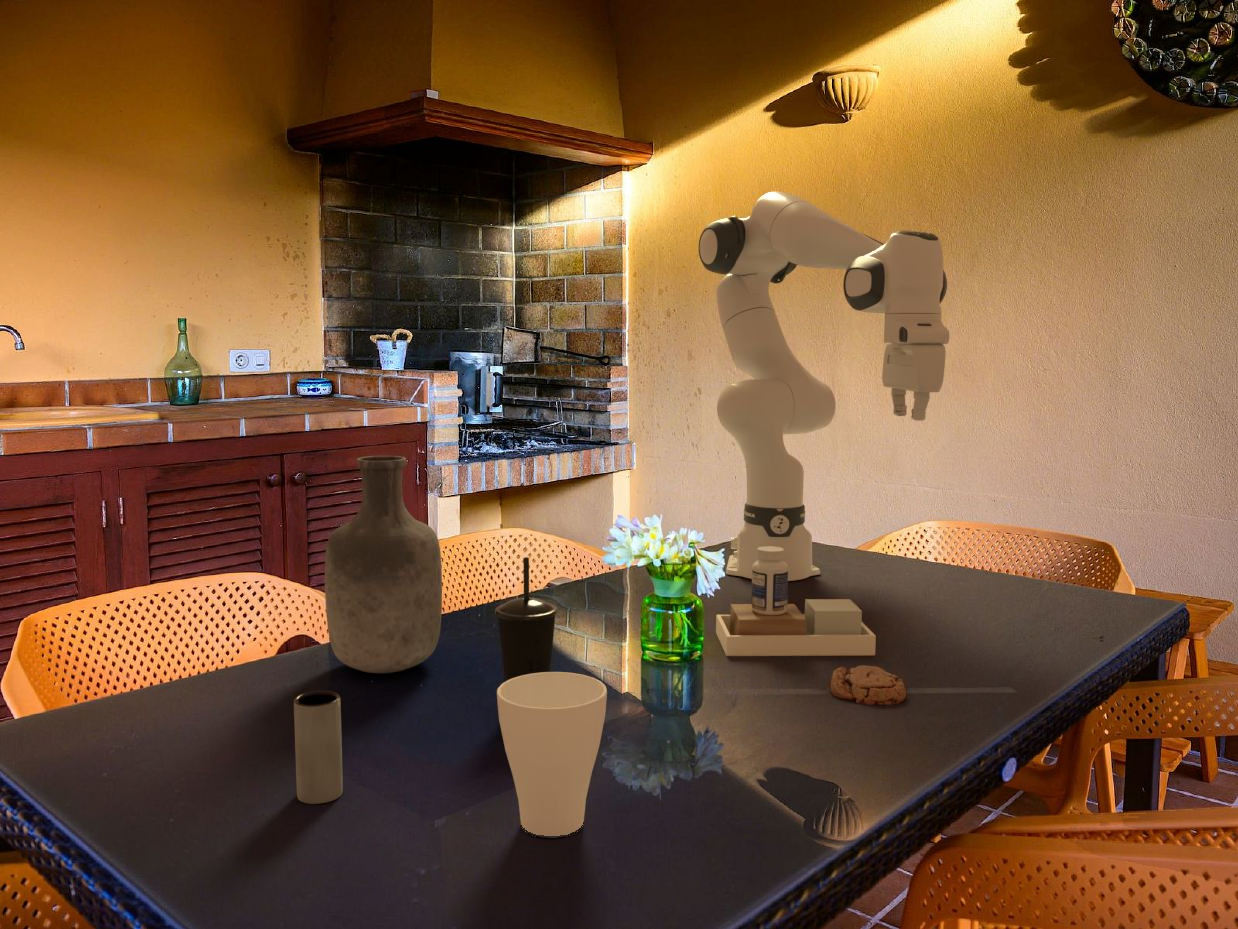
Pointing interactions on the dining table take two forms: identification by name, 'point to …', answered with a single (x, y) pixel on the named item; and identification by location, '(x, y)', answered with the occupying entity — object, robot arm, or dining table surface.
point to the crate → (794, 643)
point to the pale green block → (832, 617)
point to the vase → (383, 578)
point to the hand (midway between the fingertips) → (908, 418)
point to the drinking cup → (526, 633)
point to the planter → (318, 747)
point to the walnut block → (766, 621)
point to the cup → (552, 745)
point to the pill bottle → (769, 582)
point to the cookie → (867, 685)
